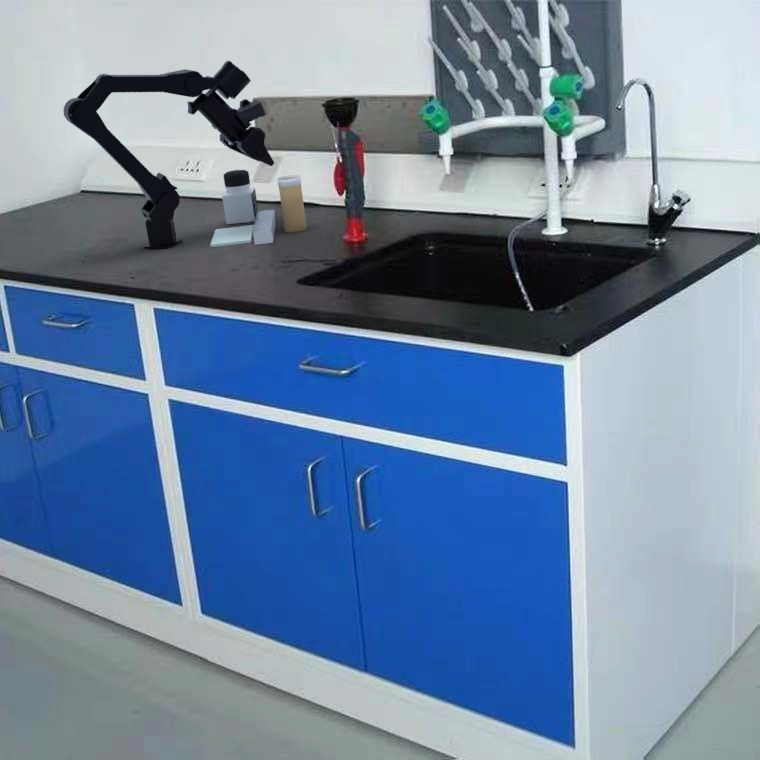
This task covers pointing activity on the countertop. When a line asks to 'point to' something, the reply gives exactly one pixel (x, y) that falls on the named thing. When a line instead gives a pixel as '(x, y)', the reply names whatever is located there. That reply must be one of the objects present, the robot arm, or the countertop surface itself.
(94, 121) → the robot arm
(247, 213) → the medicine bottle
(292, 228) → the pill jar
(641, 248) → the countertop surface
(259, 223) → the grey rectangular bar
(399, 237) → the countertop surface
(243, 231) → the pad
